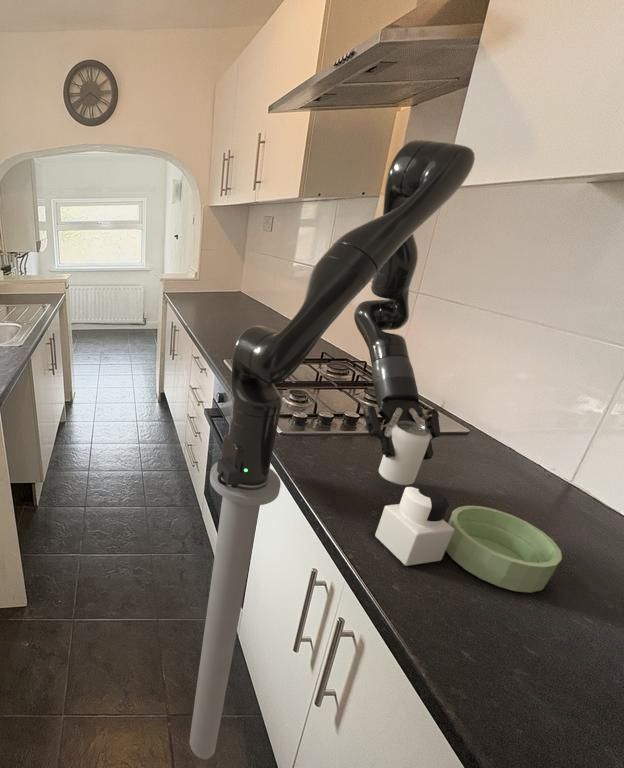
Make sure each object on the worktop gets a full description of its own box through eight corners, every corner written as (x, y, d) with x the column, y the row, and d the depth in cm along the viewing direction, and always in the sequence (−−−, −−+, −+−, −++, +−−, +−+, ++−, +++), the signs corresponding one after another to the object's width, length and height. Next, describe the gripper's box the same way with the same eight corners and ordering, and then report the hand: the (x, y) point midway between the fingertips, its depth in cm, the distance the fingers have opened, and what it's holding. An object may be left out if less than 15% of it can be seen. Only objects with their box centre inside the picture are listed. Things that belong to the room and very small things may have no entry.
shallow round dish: (500, 602, 63) (515, 573, 61) (421, 537, 75) (431, 511, 73) (568, 586, 66) (586, 558, 63) (481, 526, 78) (493, 500, 75)
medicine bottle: (407, 531, 77) (427, 477, 72) (442, 561, 70) (466, 505, 65) (373, 536, 75) (391, 482, 71) (405, 567, 69) (427, 510, 64)
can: (373, 466, 91) (388, 418, 86) (405, 469, 90) (423, 421, 85) (384, 484, 85) (402, 433, 80) (419, 488, 84) (439, 437, 79)
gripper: (368, 373, 86) (382, 452, 80) (440, 376, 85) (459, 456, 79) (350, 386, 93) (362, 459, 87) (417, 388, 92) (433, 463, 86)
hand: (408, 457), depth 83 cm, fingers closed on can, 6 cm apart
